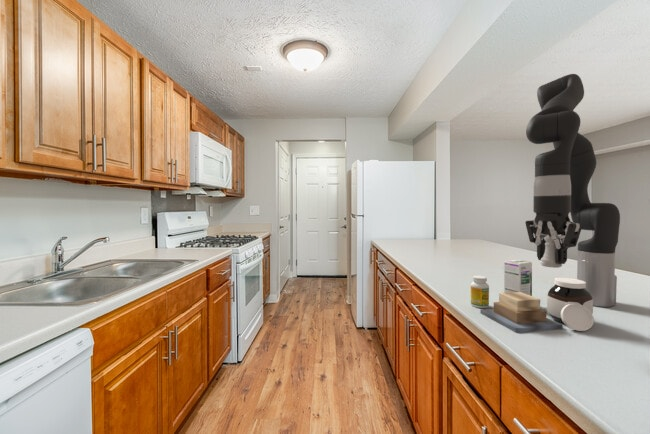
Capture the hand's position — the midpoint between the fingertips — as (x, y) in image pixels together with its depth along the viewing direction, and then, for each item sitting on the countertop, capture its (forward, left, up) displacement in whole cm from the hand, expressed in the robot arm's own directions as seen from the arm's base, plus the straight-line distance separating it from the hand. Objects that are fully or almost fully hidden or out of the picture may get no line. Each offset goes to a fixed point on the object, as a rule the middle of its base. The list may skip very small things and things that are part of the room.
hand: (551, 261), depth 76 cm
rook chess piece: (0, 0, -1) cm, 1 cm away
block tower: (+1, -9, -19) cm, 21 cm away
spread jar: (-12, -5, -19) cm, 23 cm away
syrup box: (-9, -21, -19) cm, 30 cm away
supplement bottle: (+4, -22, -19) cm, 30 cm away
